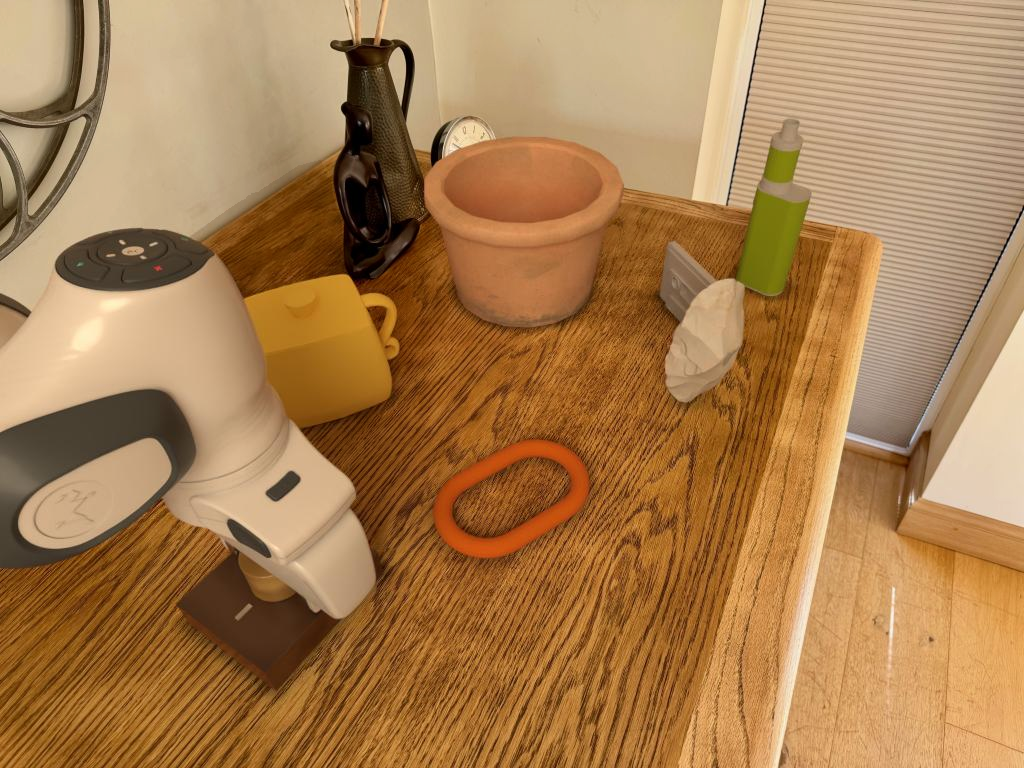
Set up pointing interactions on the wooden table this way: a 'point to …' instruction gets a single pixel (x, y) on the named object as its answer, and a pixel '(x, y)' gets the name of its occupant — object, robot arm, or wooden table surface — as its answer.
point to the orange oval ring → (529, 528)
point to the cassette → (681, 280)
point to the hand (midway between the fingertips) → (278, 573)
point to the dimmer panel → (256, 622)
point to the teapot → (325, 347)
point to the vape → (775, 216)
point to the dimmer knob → (263, 581)
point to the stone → (706, 340)
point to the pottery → (523, 225)
